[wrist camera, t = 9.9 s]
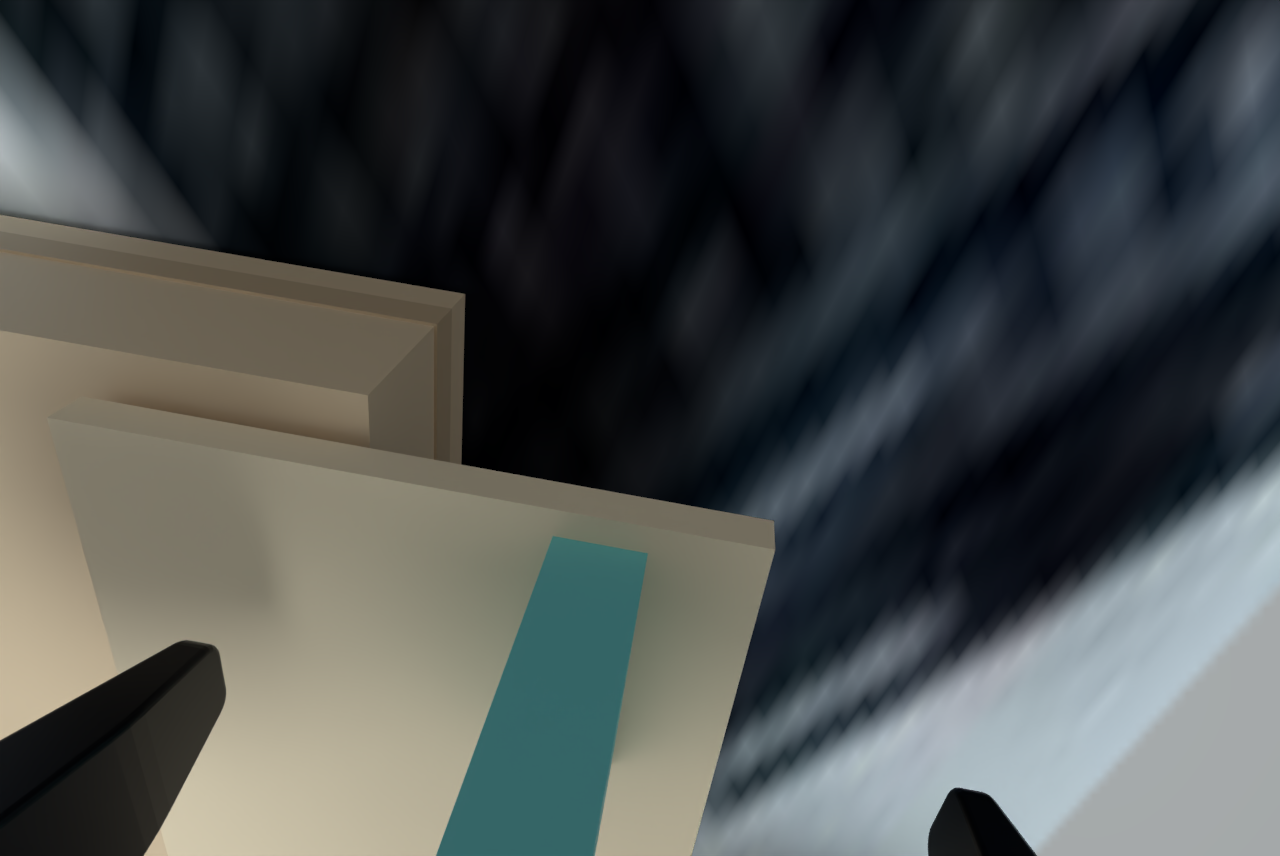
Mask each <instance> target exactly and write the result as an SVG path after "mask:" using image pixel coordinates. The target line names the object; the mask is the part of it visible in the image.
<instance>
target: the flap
mask: <svg viewBox="0 0 1280 856" xmlns="http://www.w3.org/2000/svg"><path fill="white" fill-rule="evenodd" d="M47 420H48V424H49V427H50V431H51V435H52V438H53V442H54V446H55V449H56V453H57V456H58V460H59V464H60V467H61V471H62V474H63V478H64V482H65V485H66V489H67V493H68V496H69V500H70V503H71V507H72V511H73V514H74V518H75V522H76V525H77V529H78V532H79V536H80V540H81V543H82V547H83V550H84V554H85V558H86V561H87V565H88V569H89V572H90V576H91V579H92V583H93V587H94V590H95V594H96V598H97V601H98V605H99V608H100V612H101V616H102V619H103V623H104V626H105V630H106V634H107V637H108V641H109V645H110V648H111V652H112V655H113V659H114V663H115V666H116V670H117V673H118V674H120V673H122V672H124V671H126V670H127V669H129V668H131V667H133V666H135V665H136V664H138V663H140V662H142V661H144V660H145V659H147V658H149V657H151V656H153V655H154V654H156V653H158V652H160V651H162V650H163V649H165V648H167V647H169V646H171V645H172V644H174V643H176V642H179V641H182V640H191V641H196V642H202V643H207V644H212V645H214V646H215V647H216V648H217V649H218V650H219V653H220V658H221V663H222V669H223V674H224V680H225V685H226V700H225V704H224V707H223V709H222V711H221V714H220V716H219V717H218V719H217V721H216V723H215V725H214V727H213V729H212V731H211V733H210V735H209V737H208V739H207V741H206V743H205V745H204V747H203V748H202V750H201V752H200V754H199V756H198V758H197V760H196V762H195V764H194V766H193V768H192V770H191V772H190V774H189V776H188V778H187V779H186V781H185V783H184V785H183V787H182V789H181V791H180V793H179V795H178V797H177V799H176V801H175V803H174V805H173V807H172V809H171V810H170V812H169V814H168V816H167V818H166V820H165V821H164V823H163V825H162V827H161V833H162V836H163V840H164V844H165V847H166V851H167V854H168V856H691V855H692V852H693V848H694V844H695V841H696V837H697V833H698V830H699V826H700V822H701V819H702V815H703V812H704V808H705V804H706V801H707V797H708V793H709V790H710V786H711V782H712V779H713V775H714V771H715V768H716V764H717V760H718V757H719V753H720V749H721V746H722V742H723V739H724V735H725V731H726V728H727V724H728V720H729V717H730V713H731V709H732V706H733V702H734V698H735V695H736V691H737V687H738V684H739V680H740V676H741V673H742V669H743V666H744V662H745V658H746V655H747V651H748V647H749V644H750V640H751V636H752V633H753V629H754V625H755V622H756V618H757V614H758V611H759V607H760V603H761V600H762V596H763V593H764V589H765V585H766V582H767V578H768V574H769V571H770V567H771V563H772V560H773V556H774V552H775V534H774V521H772V520H767V519H761V518H755V517H750V516H744V515H739V514H733V513H728V512H722V511H716V510H711V509H705V508H700V507H694V506H689V505H683V504H678V503H672V502H666V501H661V500H655V499H650V498H644V497H639V496H633V495H628V494H622V493H616V492H611V491H605V490H600V489H594V488H589V487H583V486H578V485H572V484H566V483H561V482H555V481H550V480H544V479H539V478H533V477H528V476H522V475H516V474H511V473H505V472H500V471H494V470H489V469H483V468H477V467H472V466H466V465H461V464H455V463H450V462H444V461H439V460H433V459H427V458H422V457H416V456H411V455H405V454H400V453H394V452H389V451H383V450H377V449H372V448H366V447H361V446H355V445H350V444H344V443H339V442H333V441H327V440H322V439H316V438H311V437H305V436H300V435H294V434H288V433H283V432H277V431H272V430H266V429H261V428H255V427H250V426H244V425H238V424H233V423H227V422H222V421H216V420H211V419H205V418H200V417H194V416H188V415H183V414H177V413H172V412H166V411H161V410H155V409H150V408H144V407H138V406H133V405H127V404H122V403H116V402H111V401H105V400H100V399H94V398H88V397H83V396H82V397H80V398H79V399H77V400H75V401H74V402H72V403H70V404H69V405H67V406H65V407H64V408H62V409H60V410H59V411H57V412H55V413H54V414H52V415H50V416H49V417H47Z"/></svg>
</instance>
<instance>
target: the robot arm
mask: <svg viewBox="0 0 1280 856" xmlns="http://www.w3.org/2000/svg"><path fill="white" fill-rule="evenodd" d="M225 700H226V685H225V680H224V674H223V669H222V663H221V658H220V653H219V650H218V649H217V648H216V647H215V646H214V645H212V644H207V643H202V642H196V641H191V640H182V641H179V642H176V643H174V644H172V645H171V646H169V647H167V648H165V649H163V650H162V651H160V652H158V653H156V654H154V655H153V656H151V657H149V658H147V659H145V660H144V661H142V662H140V663H138V664H136V665H135V666H133V667H131V668H129V669H127V670H126V671H124V672H122V673H120V674H118V675H117V676H115V677H113V678H111V679H109V680H108V681H106V682H104V683H102V684H100V685H98V686H97V687H95V688H93V689H91V690H89V691H88V692H86V693H84V694H82V695H80V696H79V697H77V698H75V699H73V700H71V701H70V702H68V703H66V704H64V705H62V706H61V707H59V708H57V709H55V710H53V711H52V712H50V713H48V714H46V715H44V716H43V717H41V718H39V719H37V720H35V721H34V722H32V723H30V724H28V725H26V726H25V727H23V728H21V729H19V730H17V731H16V732H14V733H12V734H10V735H8V736H7V737H5V738H3V739H1V740H0V856H144V855H145V853H146V852H147V850H148V848H149V847H150V845H151V844H152V842H153V840H154V839H155V837H156V835H157V834H158V832H159V831H160V829H161V827H162V825H163V823H164V821H165V820H166V818H167V816H168V814H169V812H170V810H171V809H172V807H173V805H174V803H175V801H176V799H177V797H178V795H179V793H180V791H181V789H182V787H183V785H184V783H185V781H186V779H187V778H188V776H189V774H190V772H191V770H192V768H193V766H194V764H195V762H196V760H197V758H198V756H199V754H200V752H201V750H202V748H203V747H204V745H205V743H206V741H207V739H208V737H209V735H210V733H211V731H212V729H213V727H214V725H215V723H216V721H217V719H218V717H219V716H220V714H221V711H222V709H223V707H224V704H225ZM928 856H1037V855H1036V854H1035V852H1034V851H1033V850H1032V848H1031V847H1030V846H1029V845H1028V843H1027V842H1026V841H1025V839H1024V838H1023V837H1022V835H1021V834H1020V833H1019V831H1018V830H1017V829H1016V828H1015V826H1014V825H1013V824H1012V822H1011V821H1010V820H1009V818H1008V817H1007V816H1006V814H1005V813H1004V812H1003V811H1002V809H1001V808H1000V807H999V805H998V804H997V803H996V801H995V800H994V799H993V798H992V797H990V796H989V795H988V794H986V793H983V792H979V791H974V790H968V789H963V788H954V789H952V790H951V791H950V792H949V793H948V795H947V797H946V799H945V801H944V803H943V805H942V807H941V809H940V811H939V812H938V814H937V816H936V818H935V820H934V822H933V824H932V826H931V829H930V832H929V838H928Z"/></svg>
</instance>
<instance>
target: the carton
mask: <svg viewBox="0 0 1280 856" xmlns="http://www.w3.org/2000/svg"><path fill="white" fill-rule="evenodd" d="M464 327H465V294H462V293H457V292H451V291H445V290H439V289H433V288H427V287H421V286H415V285H410V284H404V283H398V282H392V281H386V280H380V279H374V278H369V277H363V276H357V275H351V274H345V273H339V272H333V271H327V270H322V269H316V268H310V267H304V266H298V265H292V264H286V263H281V262H275V261H269V260H263V259H257V258H251V257H245V256H239V255H234V254H228V253H222V252H216V251H210V250H204V249H198V248H193V247H187V246H181V245H175V244H169V243H163V242H157V241H151V240H146V239H140V238H134V237H128V236H122V235H116V234H110V233H105V232H99V231H93V230H87V229H81V228H75V227H69V226H63V225H58V224H52V223H46V222H40V221H34V220H28V219H22V218H17V217H11V216H5V215H0V740H1V739H3V738H5V737H7V736H8V735H10V734H12V733H14V732H16V731H17V730H19V729H21V728H23V727H25V726H26V725H28V724H30V723H32V722H34V721H35V720H37V719H39V718H41V717H43V716H44V715H46V714H48V713H50V712H52V711H53V710H55V709H57V708H59V707H61V706H62V705H64V704H66V703H68V702H70V701H71V700H73V699H75V698H77V697H79V696H80V695H82V694H84V693H86V692H88V691H89V690H91V689H93V688H95V687H97V686H98V685H100V684H102V683H104V682H106V681H108V680H109V679H111V678H113V677H115V676H117V675H118V673H117V670H116V666H115V663H114V659H113V655H112V652H111V648H110V645H109V641H108V637H107V634H106V630H105V626H104V623H103V619H102V616H101V612H100V608H99V605H98V601H97V598H96V594H95V590H94V587H93V583H92V579H91V576H90V572H89V569H88V565H87V561H86V558H85V554H84V550H83V547H82V543H81V540H80V536H79V532H78V529H77V525H76V522H75V518H74V514H73V511H72V507H71V503H70V500H69V496H68V493H67V489H66V485H65V482H64V478H63V474H62V471H61V467H60V464H59V460H58V456H57V453H56V449H55V446H54V442H53V438H52V435H51V431H50V427H49V424H48V420H47V417H49V416H50V415H52V414H54V413H55V412H57V411H59V410H60V409H62V408H64V407H65V406H67V405H69V404H70V403H72V402H74V401H75V400H77V399H79V398H80V397H82V396H83V397H88V398H94V399H100V400H105V401H111V402H116V403H122V404H127V405H133V406H138V407H144V408H150V409H155V410H161V411H166V412H172V413H177V414H183V415H188V416H194V417H200V418H205V419H211V420H216V421H222V422H227V423H233V424H238V425H244V426H250V427H255V428H261V429H266V430H272V431H277V432H283V433H288V434H294V435H300V436H305V437H311V438H316V439H322V440H327V441H333V442H339V443H344V444H350V445H355V446H361V447H366V448H372V449H377V450H383V451H389V452H394V453H400V454H405V455H411V456H416V457H422V458H427V459H433V460H439V461H444V462H450V463H455V464H461V459H462V415H463V371H464ZM144 856H168V854H167V851H166V847H165V844H164V840H163V836H162V833H161V829H160V831H159V832H158V834H157V835H156V837H155V839H154V840H153V842H152V844H151V845H150V847H149V848H148V850H147V852H146V853H145V855H144Z"/></svg>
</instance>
